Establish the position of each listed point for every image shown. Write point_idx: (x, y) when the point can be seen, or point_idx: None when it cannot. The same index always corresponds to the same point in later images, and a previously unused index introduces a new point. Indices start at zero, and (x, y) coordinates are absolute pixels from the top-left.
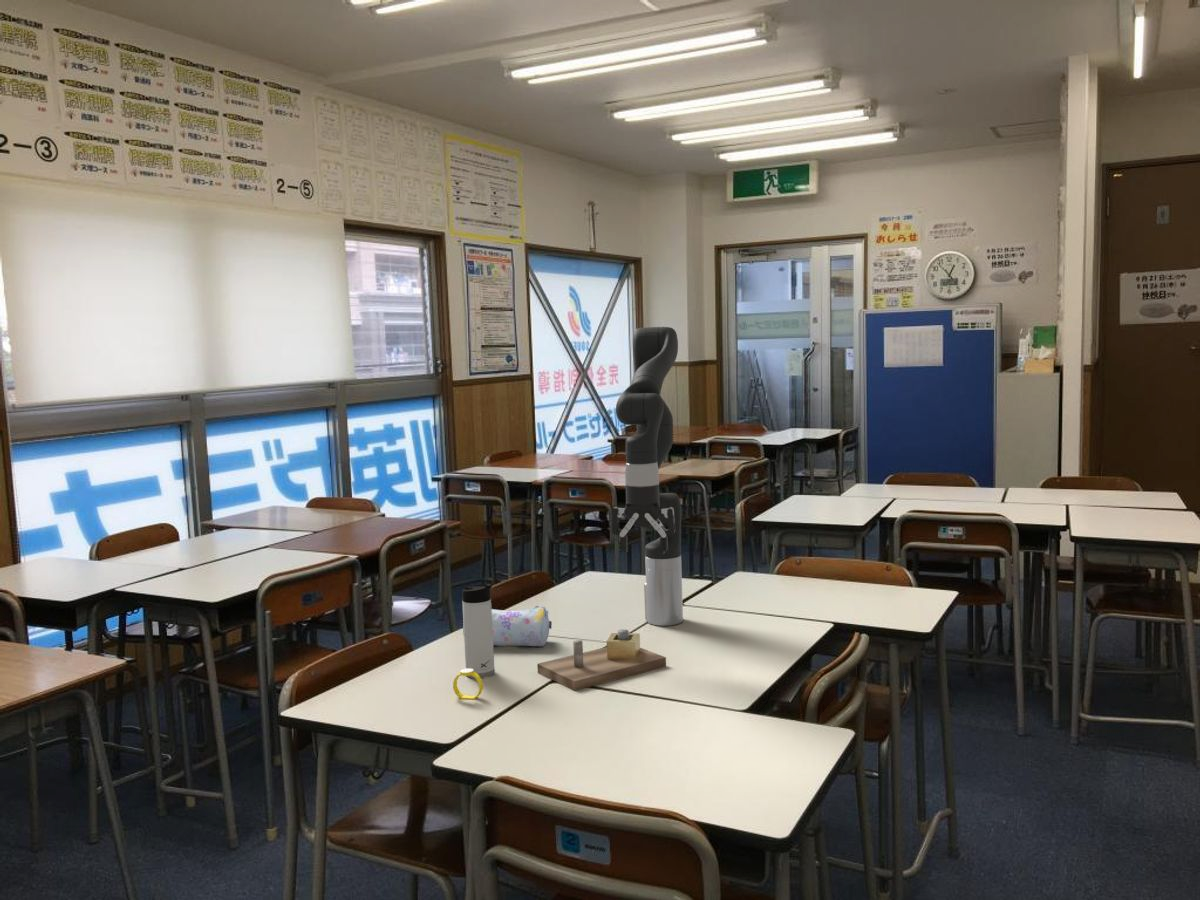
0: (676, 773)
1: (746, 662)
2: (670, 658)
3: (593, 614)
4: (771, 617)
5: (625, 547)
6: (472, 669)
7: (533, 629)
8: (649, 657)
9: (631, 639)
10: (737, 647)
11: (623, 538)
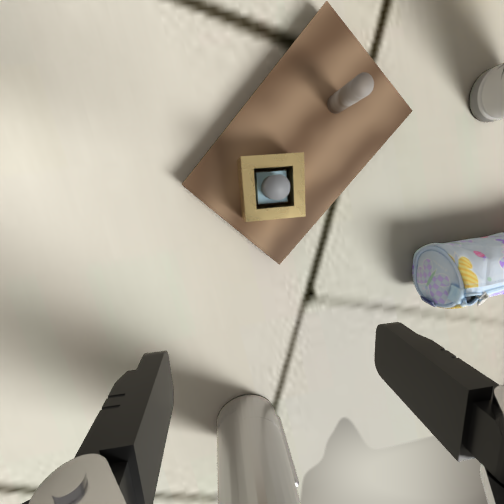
0: None
1: (33, 232)
2: (187, 231)
3: (364, 423)
4: None
5: (406, 339)
6: None
7: (455, 245)
8: (213, 178)
9: (253, 174)
10: (80, 314)
11: (479, 380)
